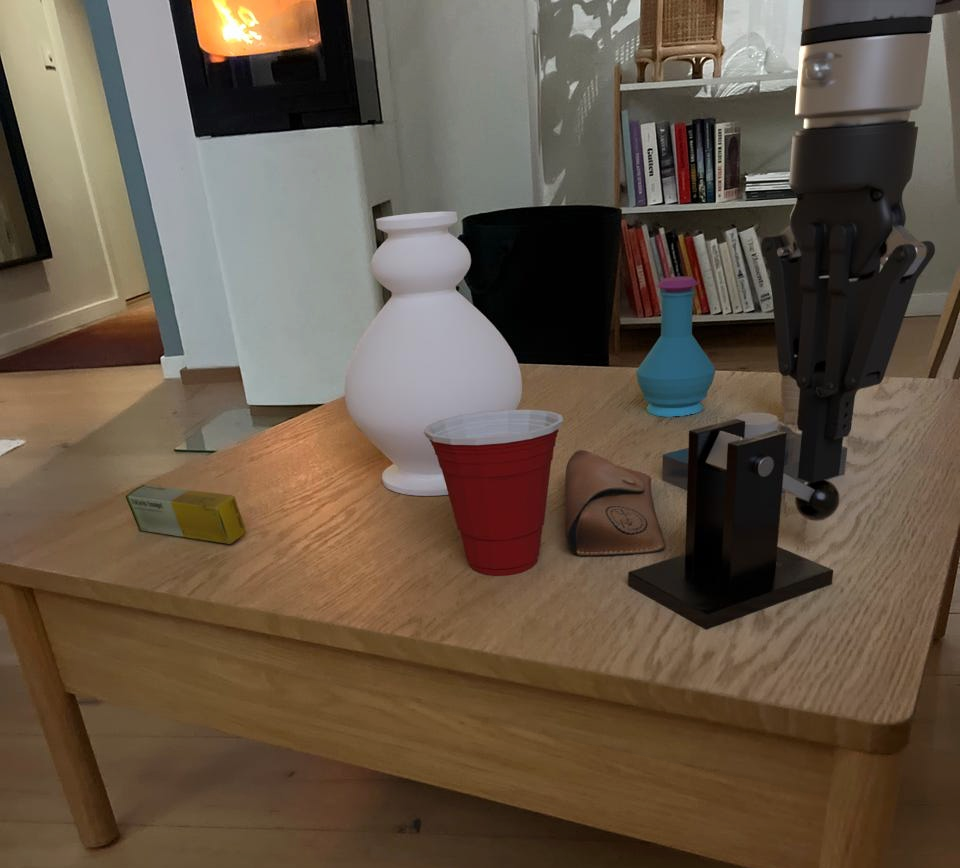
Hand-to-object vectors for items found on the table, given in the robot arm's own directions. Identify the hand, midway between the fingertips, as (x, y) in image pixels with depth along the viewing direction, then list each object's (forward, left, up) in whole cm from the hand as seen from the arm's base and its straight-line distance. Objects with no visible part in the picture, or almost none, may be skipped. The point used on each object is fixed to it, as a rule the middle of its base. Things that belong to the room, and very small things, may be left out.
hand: (818, 476), depth 71 cm
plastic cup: (+22, -10, -7) cm, 25 cm away
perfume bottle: (-11, -44, -7) cm, 46 cm away
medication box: (+47, -29, -7) cm, 56 cm away
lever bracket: (+8, +2, -7) cm, 11 cm away
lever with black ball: (+5, +1, -1) cm, 5 cm away
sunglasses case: (+10, -15, -7) cm, 20 cm away
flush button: (-6, -18, -3) cm, 19 cm away
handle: (-20, -32, -7) cm, 38 cm away
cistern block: (-6, -18, -7) cm, 20 cm away
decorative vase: (+21, -34, -7) cm, 41 cm away
